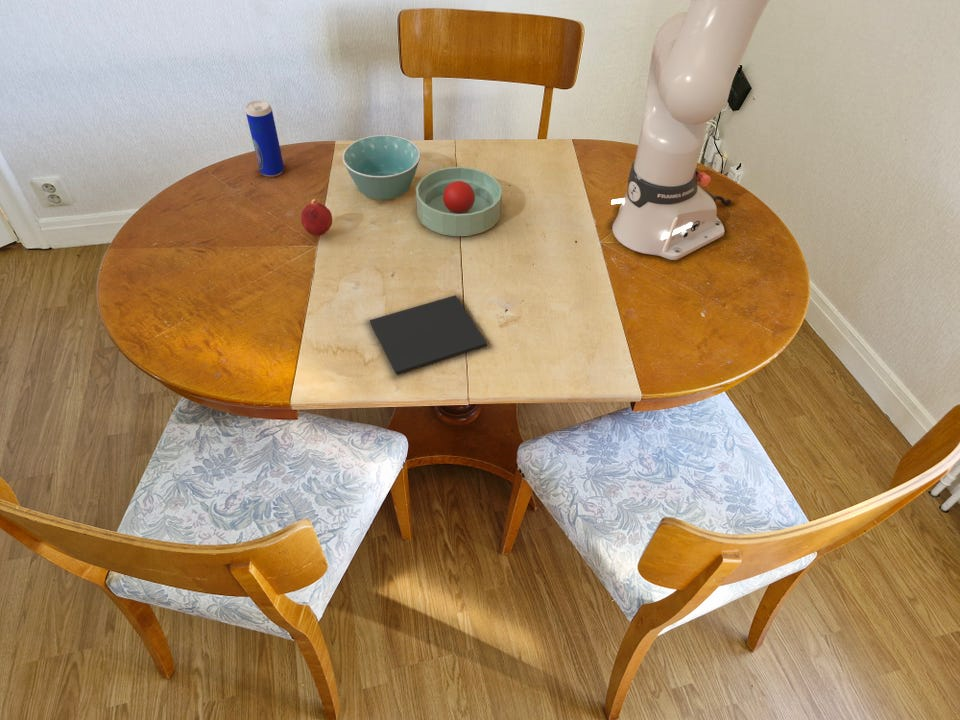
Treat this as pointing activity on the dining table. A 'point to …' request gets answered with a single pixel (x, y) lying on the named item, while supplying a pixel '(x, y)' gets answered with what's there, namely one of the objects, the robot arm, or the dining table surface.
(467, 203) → the red ball
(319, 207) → the onion
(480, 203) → the fruit bowl
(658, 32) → the robot arm
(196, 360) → the dining table surface
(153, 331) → the dining table surface
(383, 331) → the mat
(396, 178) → the bowl
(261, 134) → the beverage can
